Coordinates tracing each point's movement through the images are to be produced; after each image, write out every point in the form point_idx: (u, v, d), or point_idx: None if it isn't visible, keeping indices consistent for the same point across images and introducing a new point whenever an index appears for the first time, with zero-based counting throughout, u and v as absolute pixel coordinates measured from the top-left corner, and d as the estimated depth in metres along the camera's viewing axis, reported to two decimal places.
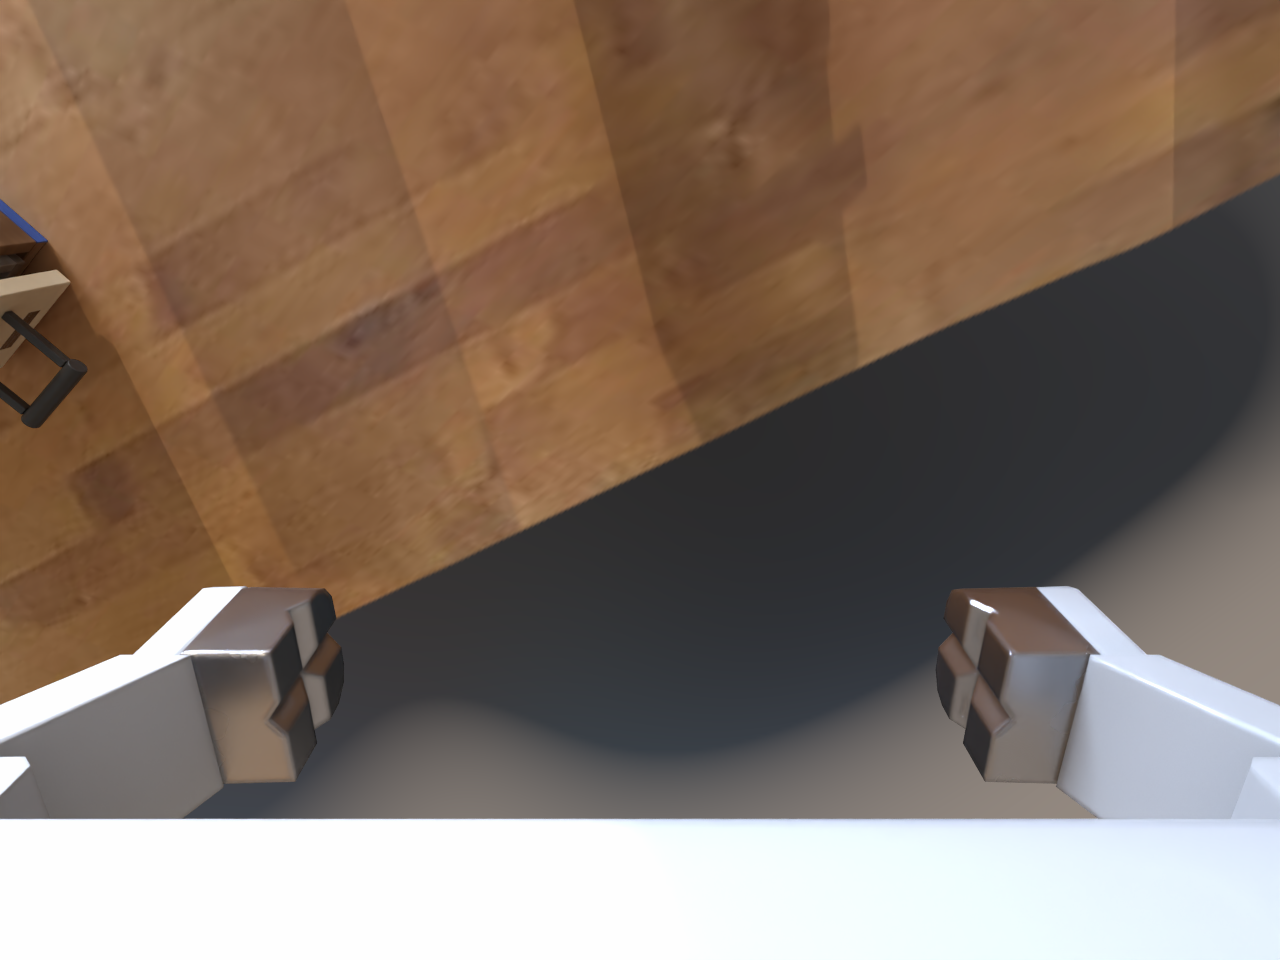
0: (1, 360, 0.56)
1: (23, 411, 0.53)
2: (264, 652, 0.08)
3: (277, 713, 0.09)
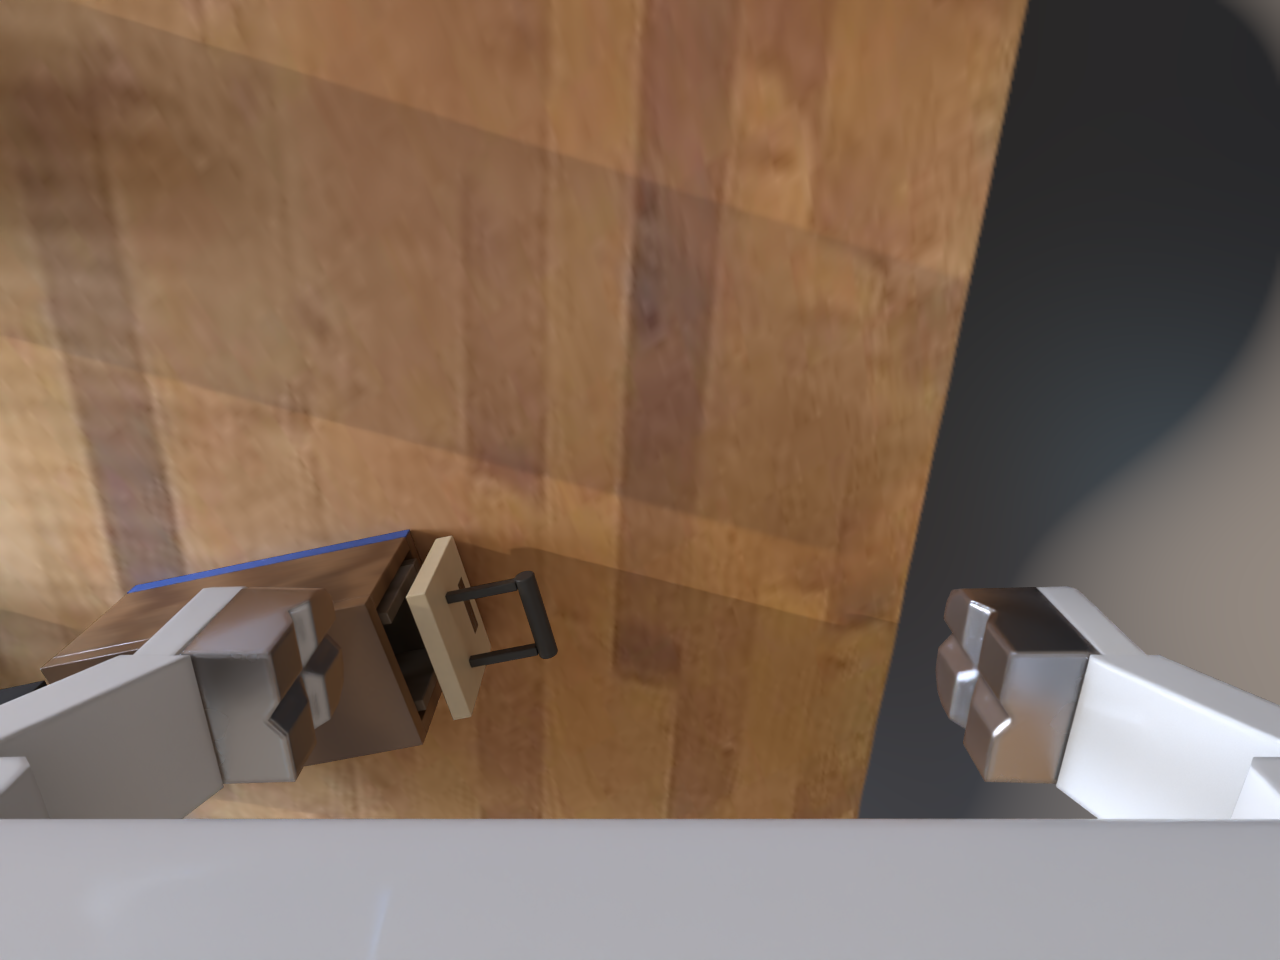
0: (485, 641, 0.54)
1: (536, 651, 0.50)
2: (264, 651, 0.08)
3: (277, 713, 0.09)
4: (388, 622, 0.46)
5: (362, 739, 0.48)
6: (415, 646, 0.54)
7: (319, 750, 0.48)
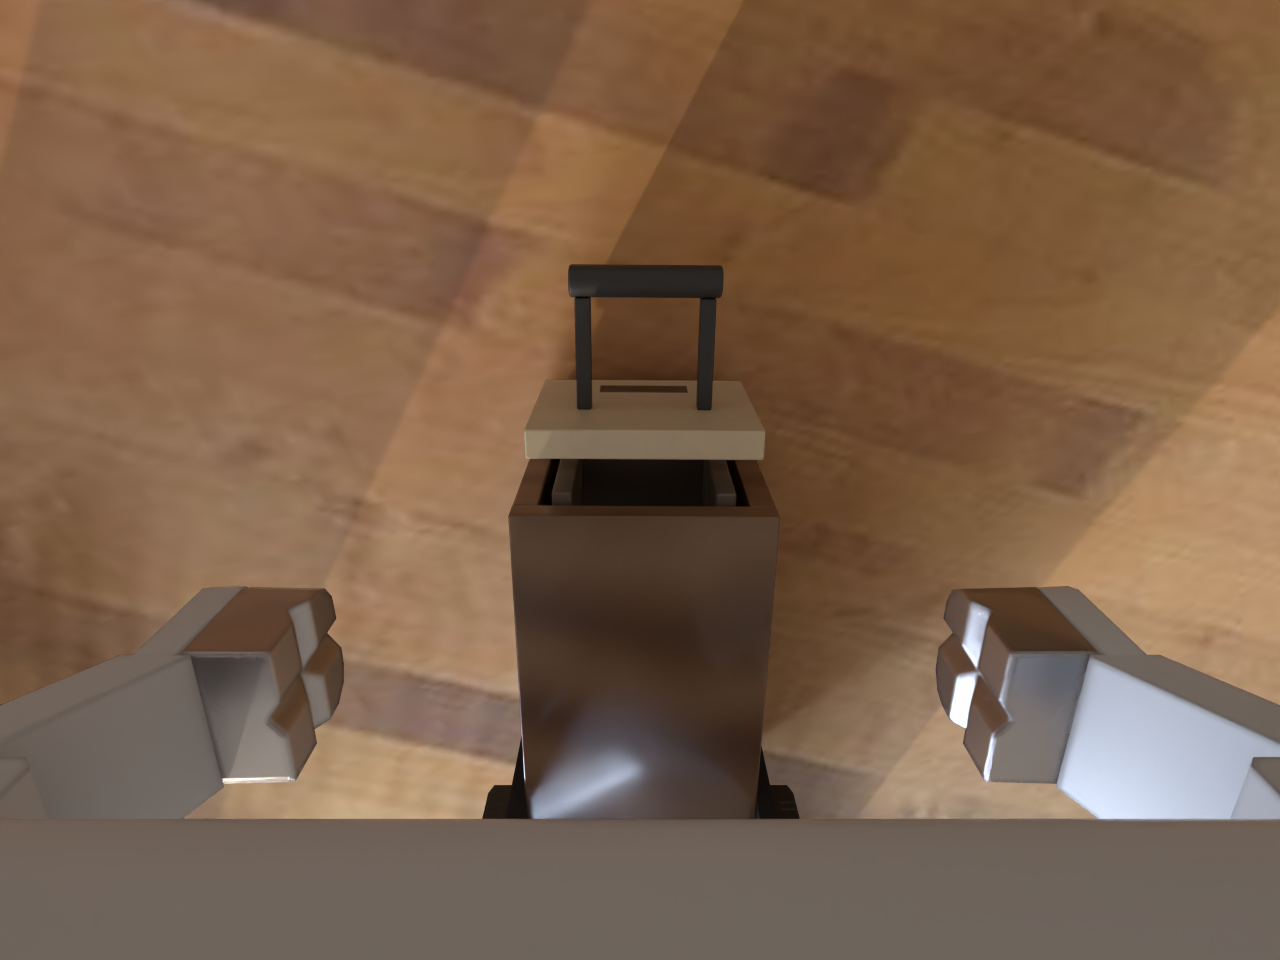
0: (719, 385, 0.35)
1: (708, 299, 0.30)
2: (264, 651, 0.08)
3: (277, 713, 0.09)
4: (568, 496, 0.31)
5: (742, 596, 0.31)
6: (697, 483, 0.37)
7: (743, 657, 0.32)
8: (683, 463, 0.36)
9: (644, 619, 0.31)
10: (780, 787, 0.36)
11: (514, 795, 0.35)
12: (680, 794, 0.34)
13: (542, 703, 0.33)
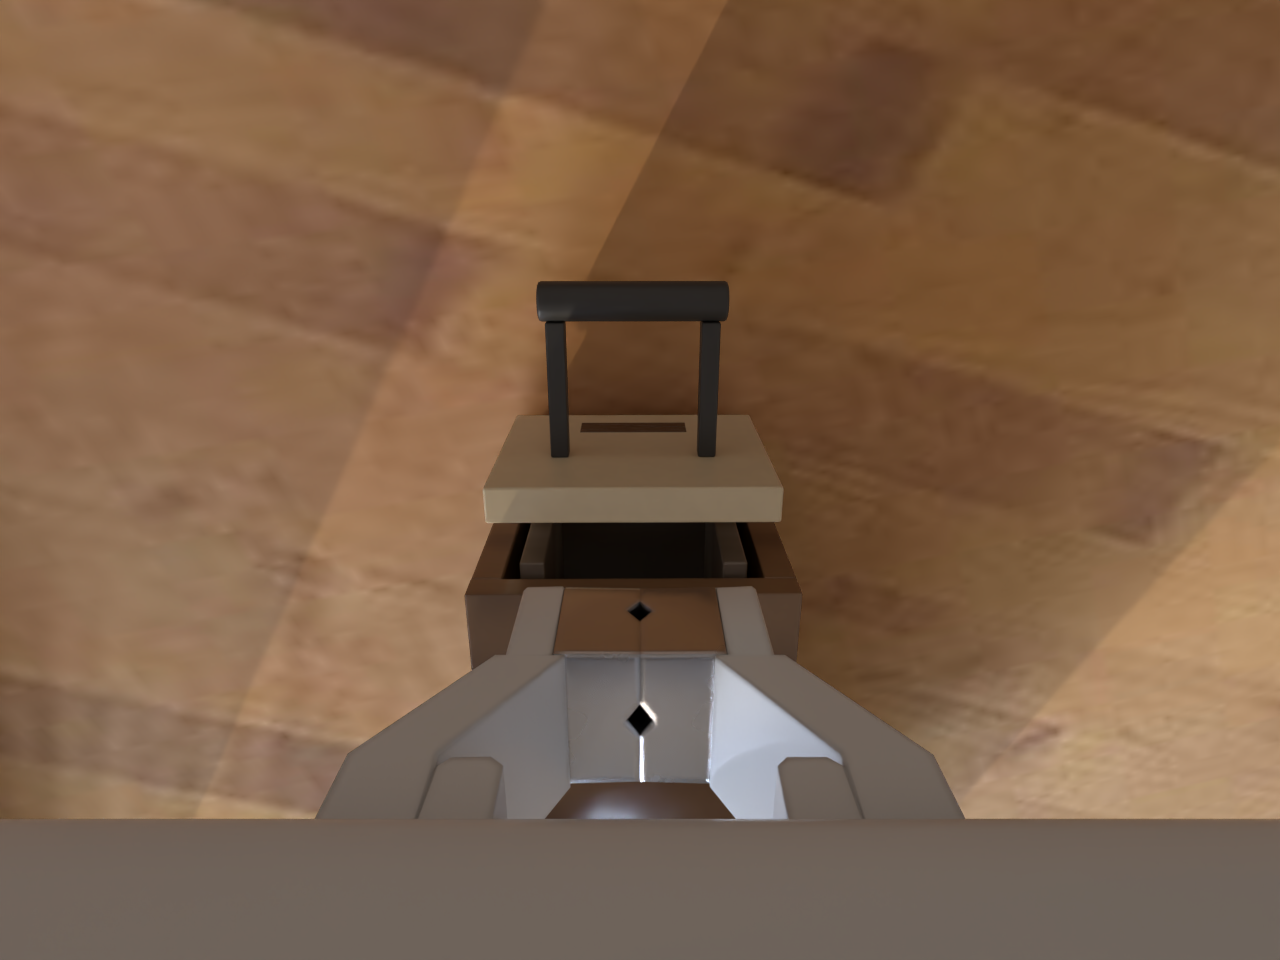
0: (723, 421, 0.30)
1: (710, 323, 0.24)
2: (635, 652, 0.08)
3: None
4: (540, 567, 0.25)
5: None
6: (699, 535, 0.31)
7: None
8: None
9: None
10: None
11: None
12: None
13: None
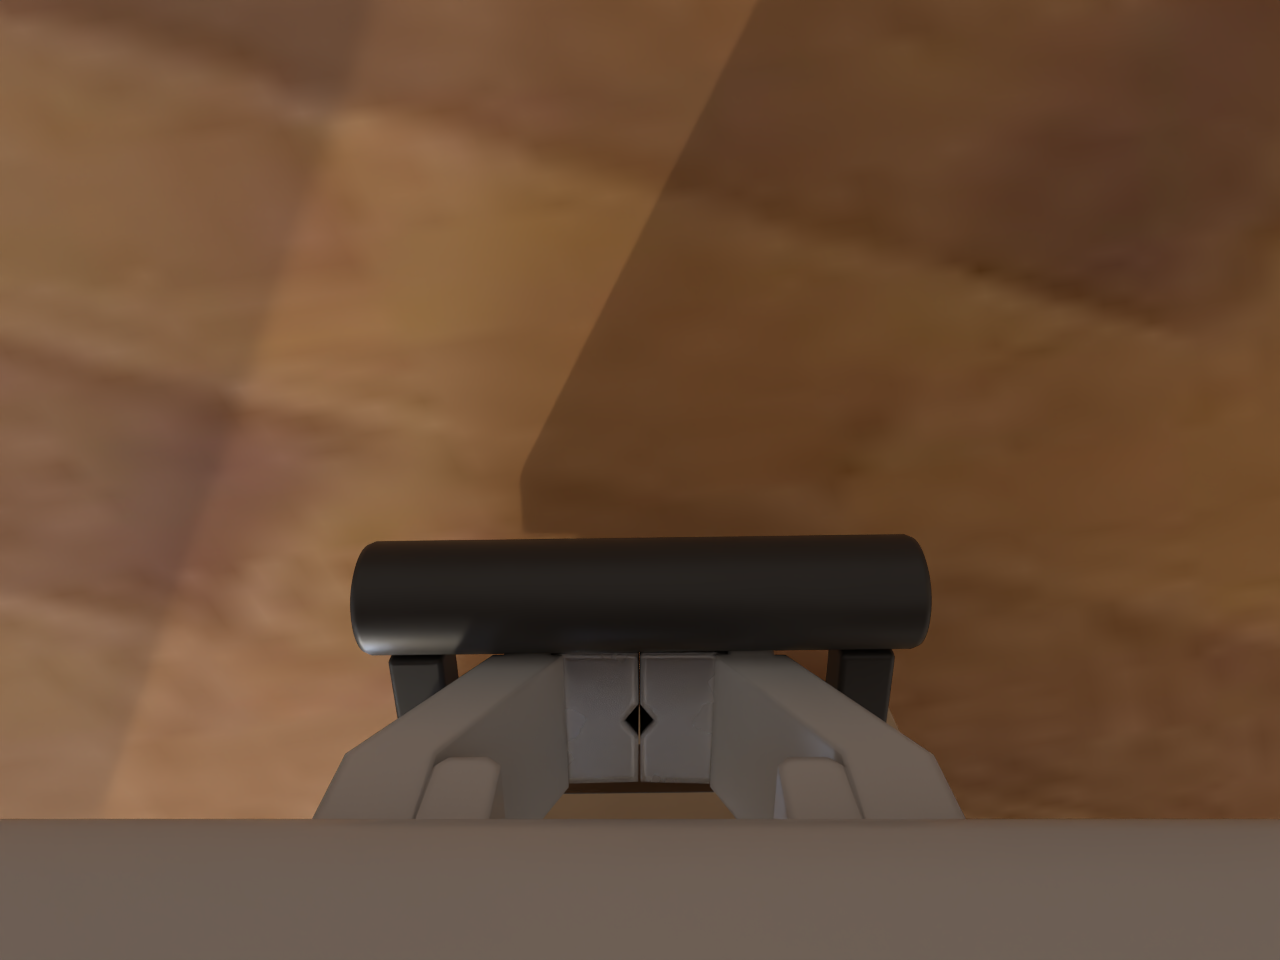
0: None
1: (866, 656, 0.08)
2: (633, 652, 0.08)
3: None
4: None
5: None
6: None
7: None
8: None
9: None
10: None
11: None
12: None
13: None
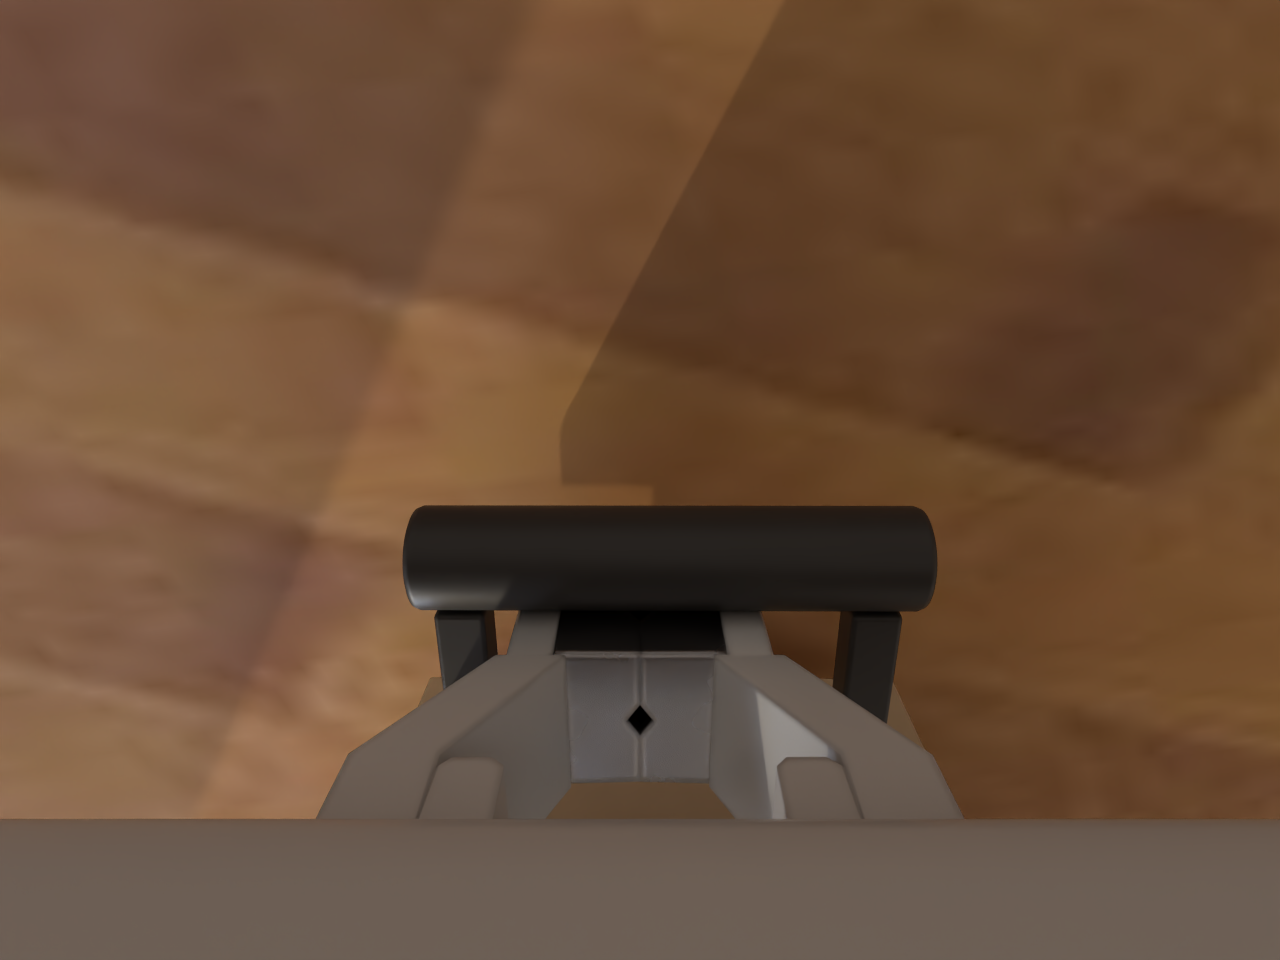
0: None
1: (876, 618, 0.09)
2: (636, 652, 0.08)
3: None
4: None
5: None
6: None
7: None
8: None
9: None
10: None
11: None
12: None
13: None
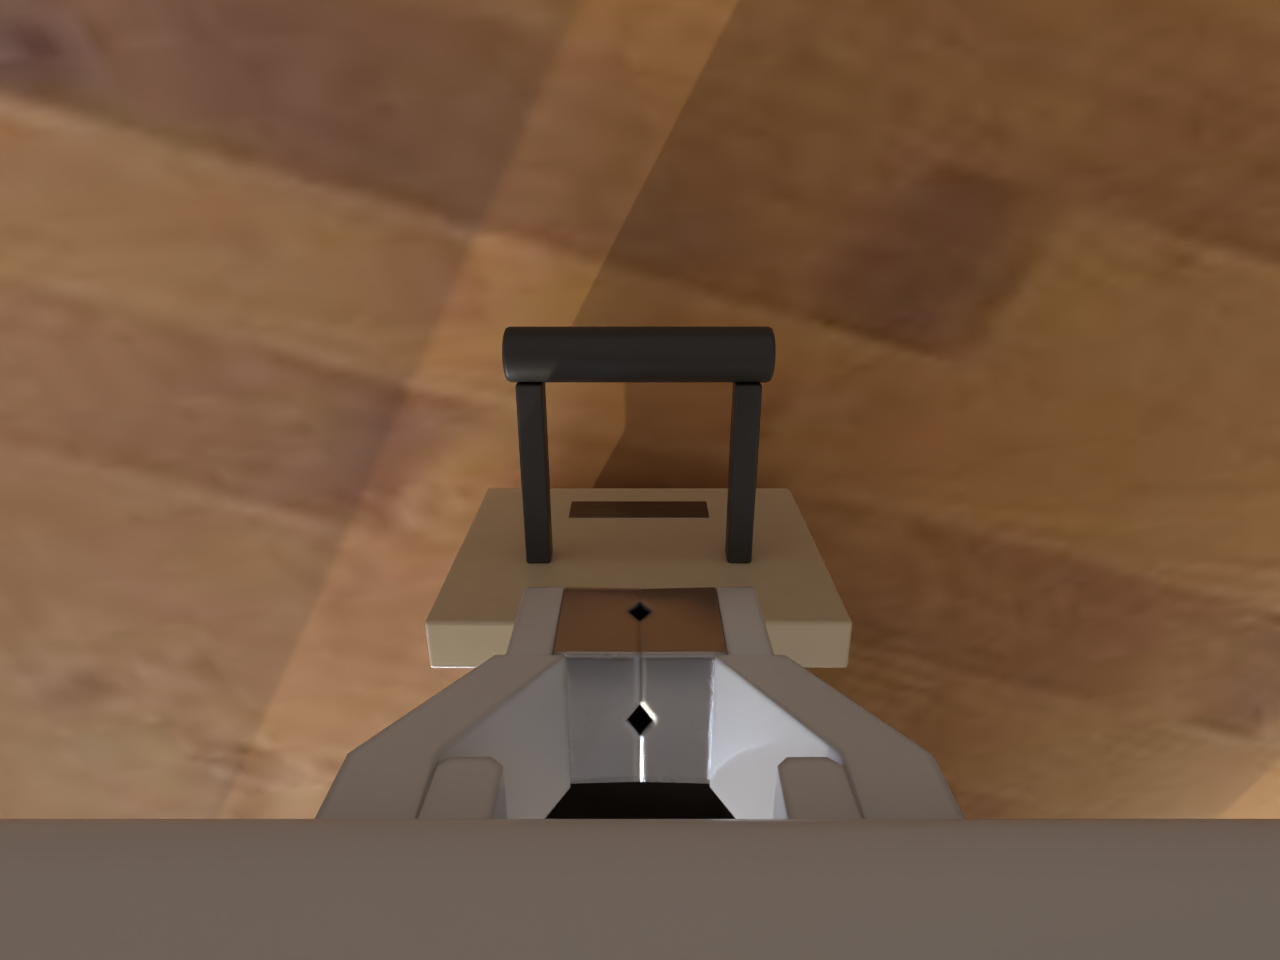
0: (757, 498, 0.23)
1: (748, 386, 0.17)
2: (635, 651, 0.08)
3: None
4: None
5: None
6: None
7: None
8: None
9: None
10: None
11: None
12: None
13: None
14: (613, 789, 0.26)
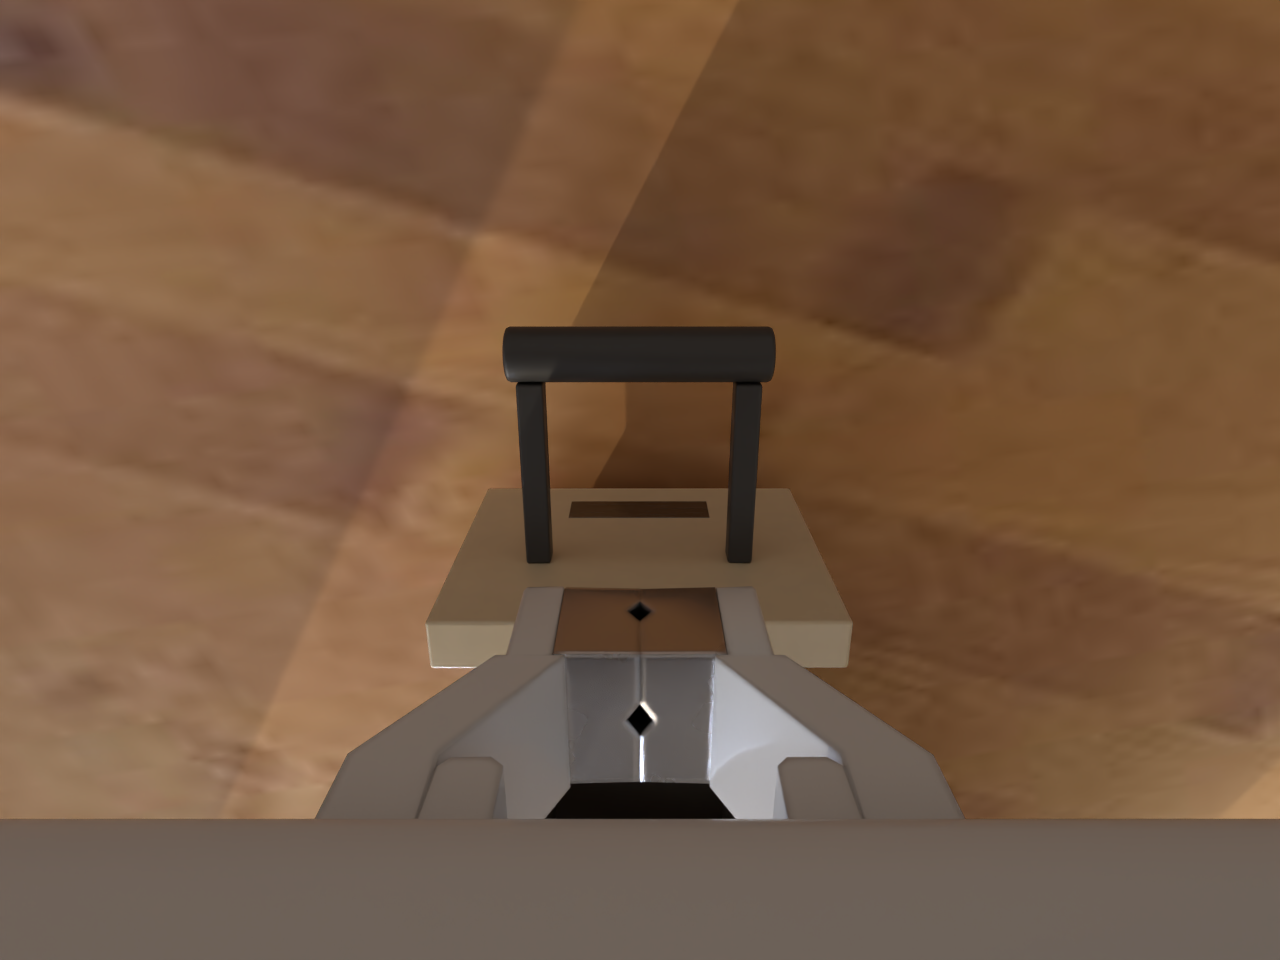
0: (757, 498, 0.23)
1: (748, 386, 0.17)
2: (635, 651, 0.08)
3: None
4: None
5: None
6: None
7: None
8: None
9: None
10: None
11: None
12: None
13: None
14: (613, 789, 0.26)
